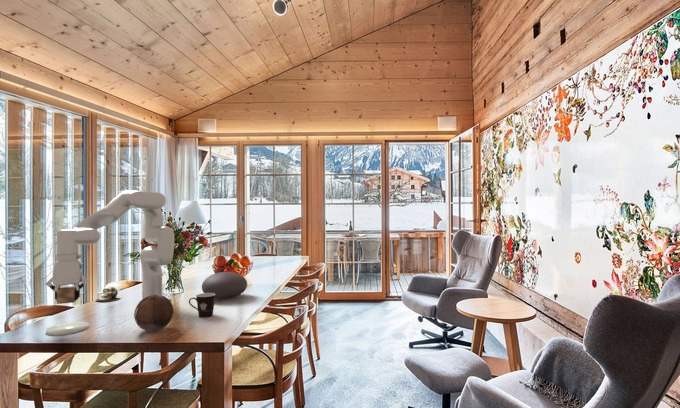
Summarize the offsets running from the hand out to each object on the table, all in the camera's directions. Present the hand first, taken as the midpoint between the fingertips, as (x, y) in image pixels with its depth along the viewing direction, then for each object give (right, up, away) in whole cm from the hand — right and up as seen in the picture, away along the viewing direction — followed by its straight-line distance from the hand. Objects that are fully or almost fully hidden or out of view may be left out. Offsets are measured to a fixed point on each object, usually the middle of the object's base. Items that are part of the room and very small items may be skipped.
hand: (67, 299), depth 166 cm
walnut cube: (0, -1, 0) cm, 1 cm away
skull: (-15, -14, +53) cm, 57 cm away
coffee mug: (+51, -13, +20) cm, 57 cm away
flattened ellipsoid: (+51, -13, +54) cm, 76 cm away
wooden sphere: (+38, -13, -2) cm, 40 cm away
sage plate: (0, -13, 0) cm, 13 cm away
